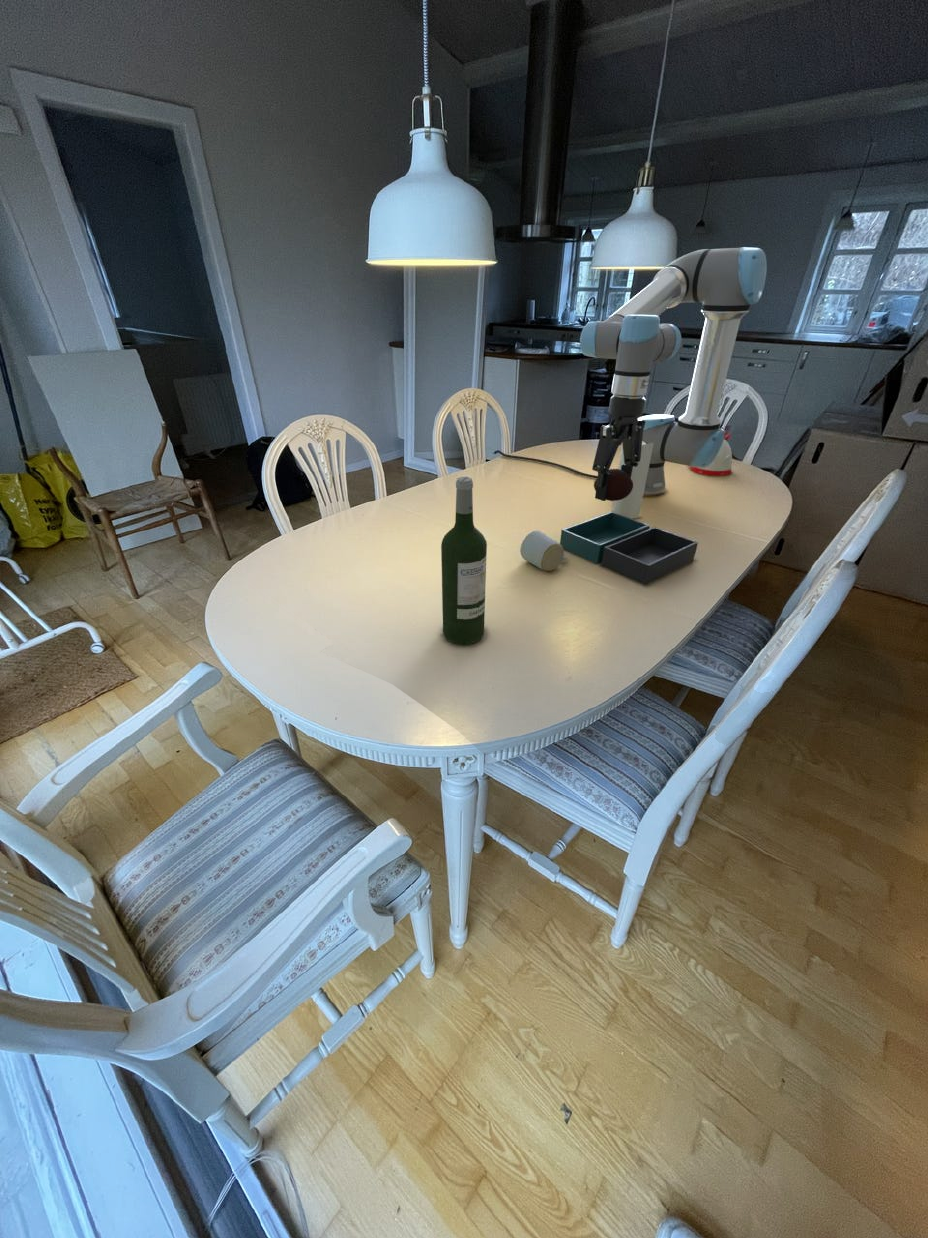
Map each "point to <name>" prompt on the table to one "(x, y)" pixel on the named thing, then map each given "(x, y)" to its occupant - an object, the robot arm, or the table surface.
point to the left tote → (599, 535)
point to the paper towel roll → (634, 484)
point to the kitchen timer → (718, 461)
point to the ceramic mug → (542, 551)
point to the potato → (618, 485)
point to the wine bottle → (463, 572)
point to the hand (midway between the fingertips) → (611, 495)
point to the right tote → (649, 555)
